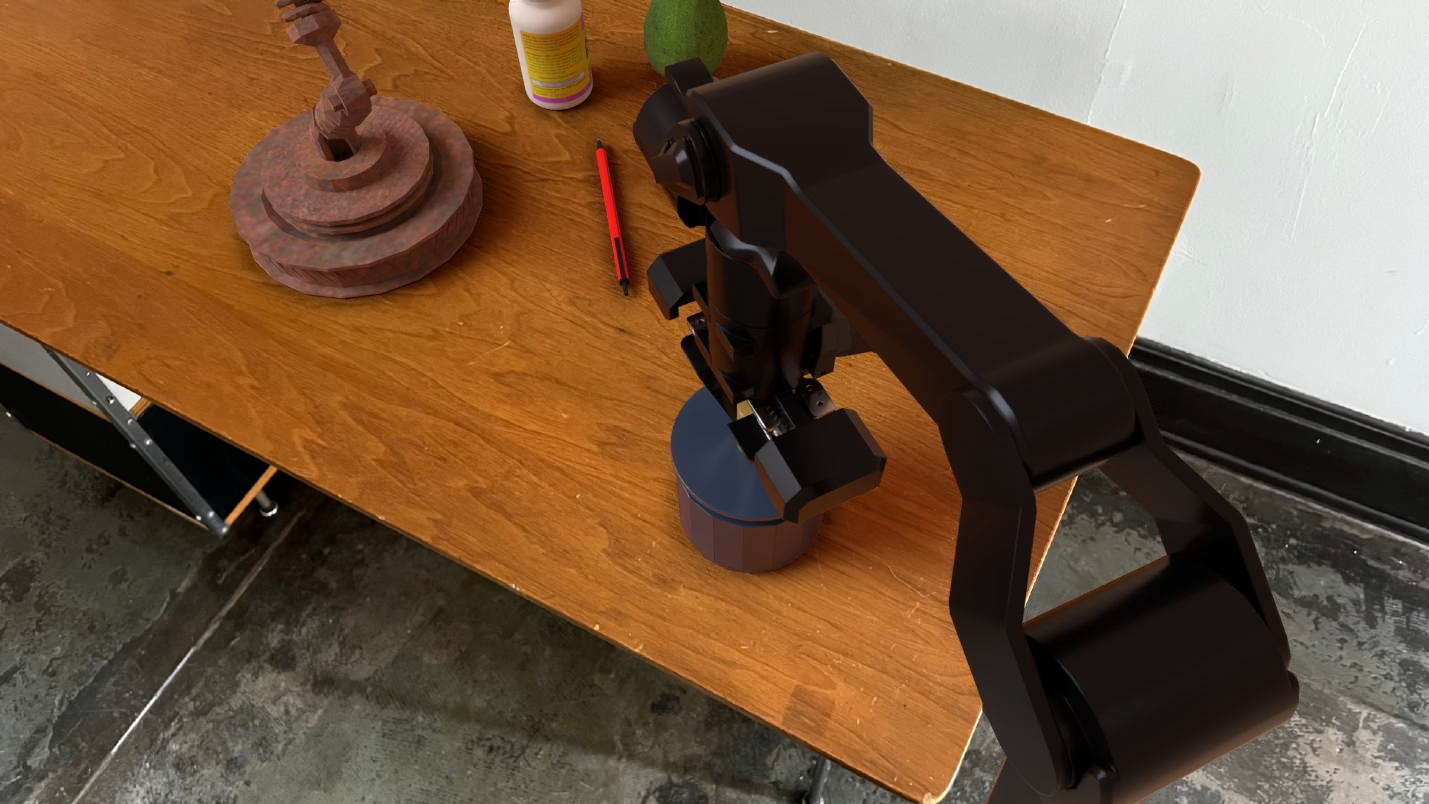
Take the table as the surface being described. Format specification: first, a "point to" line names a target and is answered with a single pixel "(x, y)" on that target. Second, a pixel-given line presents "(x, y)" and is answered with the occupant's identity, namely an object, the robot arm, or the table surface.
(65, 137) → the table surface
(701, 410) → the canister lid
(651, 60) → the fruit
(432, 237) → the desk lamp
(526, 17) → the supplement bottle
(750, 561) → the canister
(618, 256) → the pen
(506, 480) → the table surface
